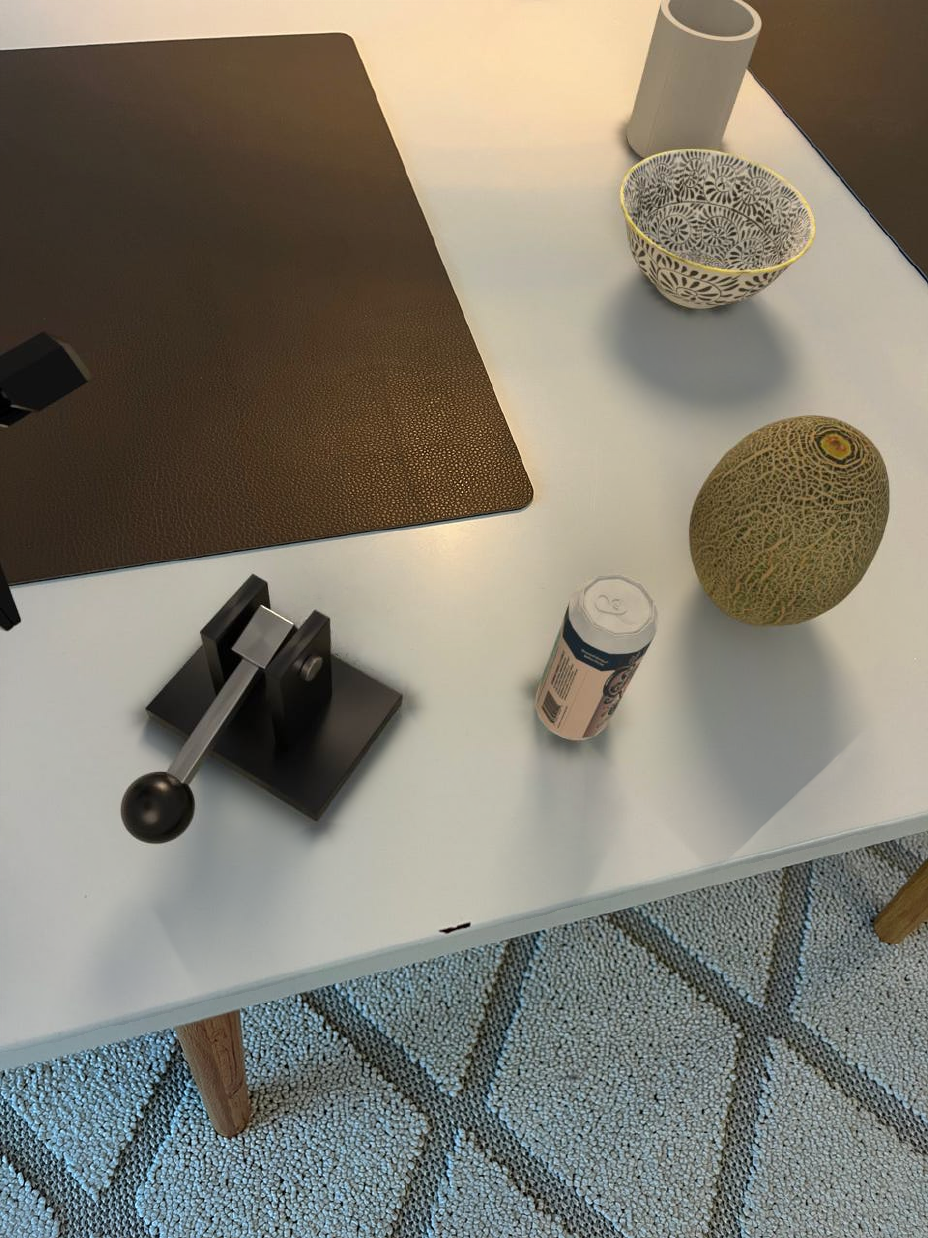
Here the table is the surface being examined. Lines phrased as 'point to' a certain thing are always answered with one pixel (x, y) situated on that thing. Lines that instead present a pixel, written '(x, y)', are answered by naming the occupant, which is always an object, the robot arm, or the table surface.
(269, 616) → the ball knob lever
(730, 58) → the cup
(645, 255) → the bowl
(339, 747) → the lever base
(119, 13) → the table surface
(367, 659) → the table surface
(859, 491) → the fruit
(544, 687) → the beer can
